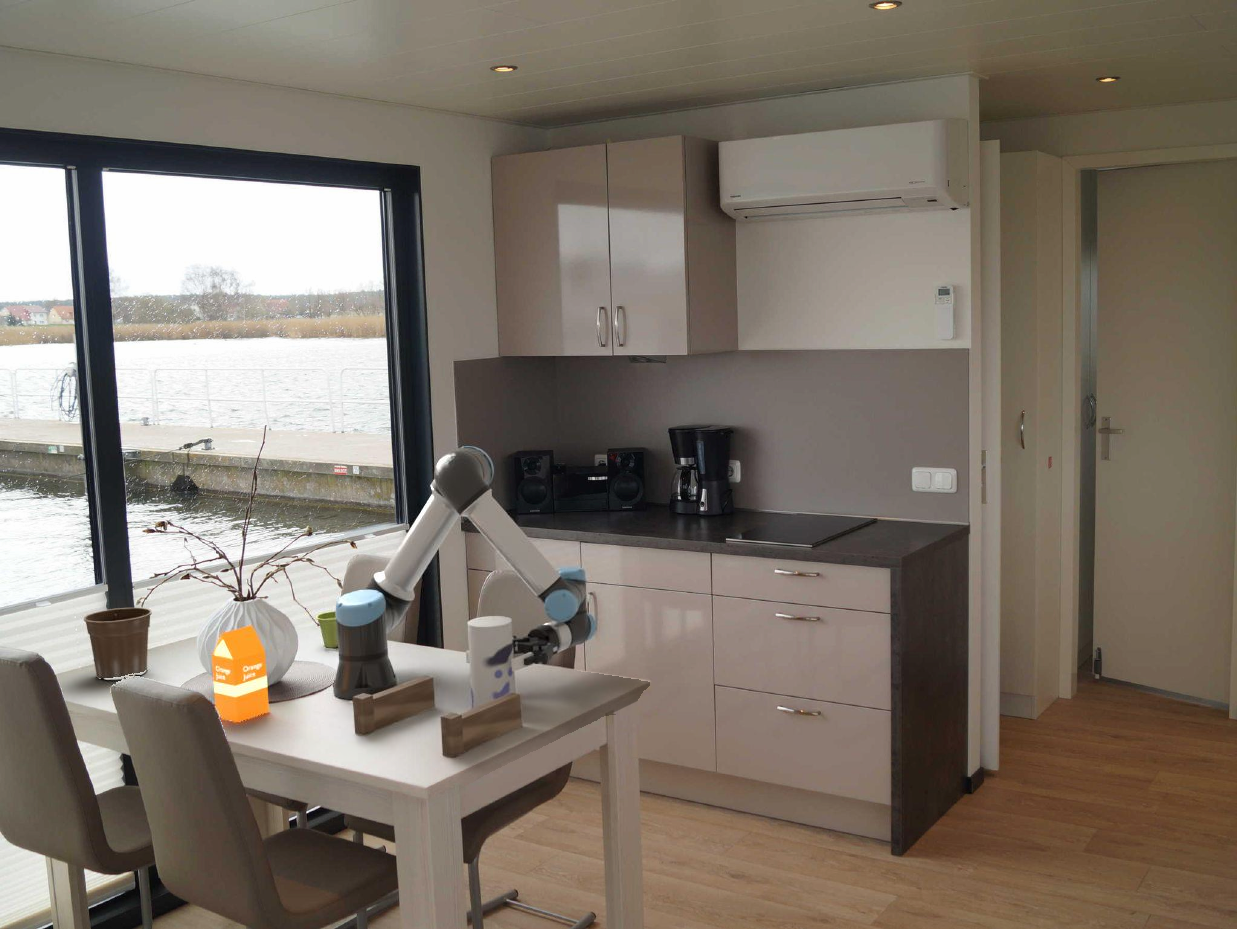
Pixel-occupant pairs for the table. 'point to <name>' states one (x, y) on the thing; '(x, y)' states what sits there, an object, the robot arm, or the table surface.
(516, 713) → the channel
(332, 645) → the plant pot
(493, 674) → the container
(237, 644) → the orange juice
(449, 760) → the table surface
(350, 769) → the table surface
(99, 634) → the plant pot
